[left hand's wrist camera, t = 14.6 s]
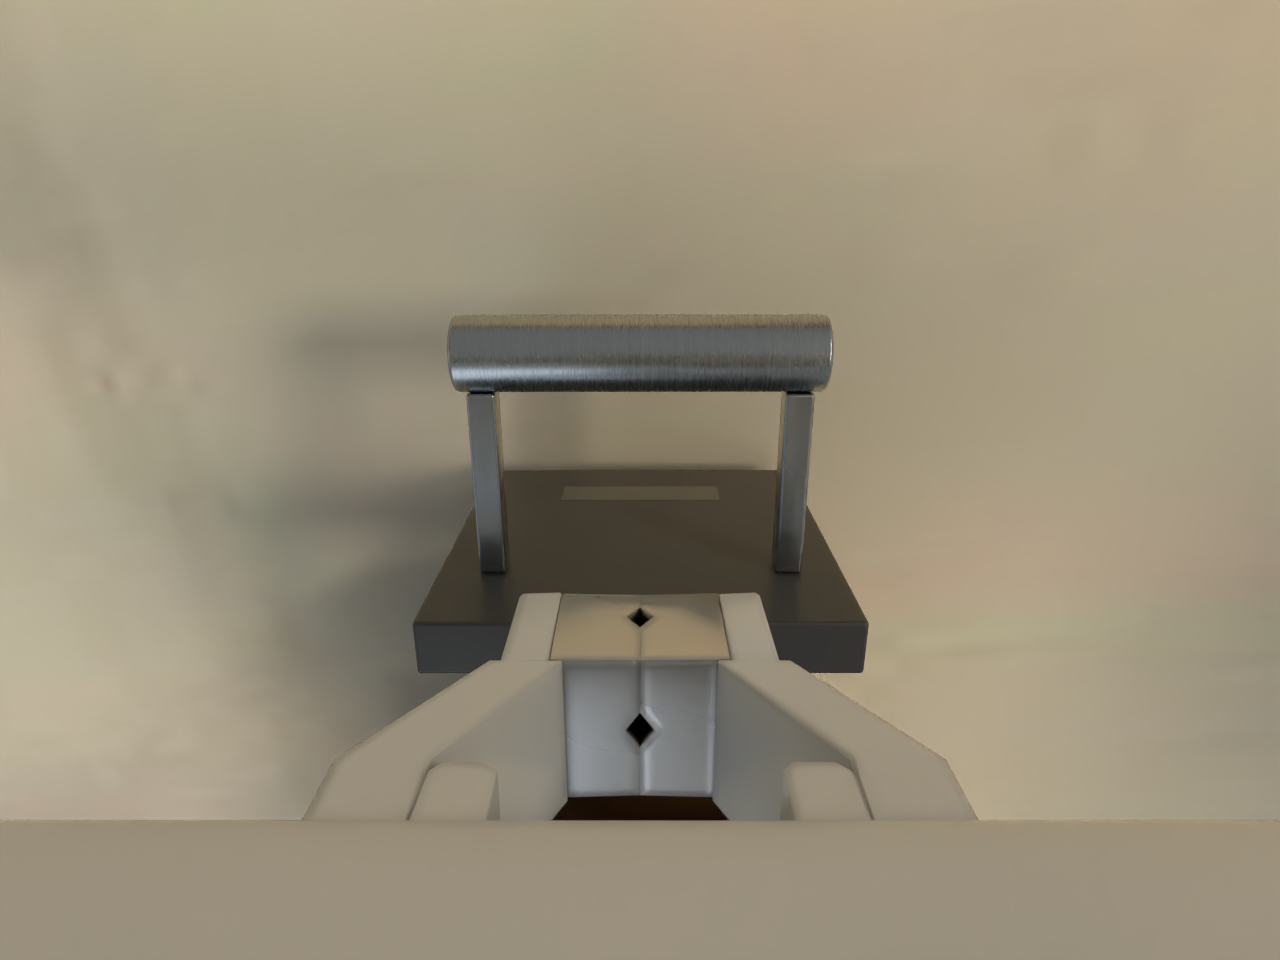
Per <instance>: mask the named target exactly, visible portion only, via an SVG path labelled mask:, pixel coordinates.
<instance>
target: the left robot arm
mask: <svg viewBox="0 0 1280 960" xmlns="http://www.w3.org/2000/svg"><path fill="white" fill-rule="evenodd" d="M625 795H653V796H689V797H713V801H714V803H715V804H716V805H717V806H718V807H719V809H720V810H721V811H722V812H723V813H724V815H725V816H726V817H727V818H728V819H729V820H552V819H553V818H554V817H555V815H556V814H557V813H558V812H559V811H560V809H561V808H562V807H563V806H564V805H565V803H566V802H567V797H590V796H625ZM0 960H1280V821H979V820H978V819H977V817H976V815H975V813H974V811H973V809H972V807H971V805H970V804H969V802H968V800H967V798H966V796H965V794H964V792H963V790H962V789H961V787H960V785H959V783H958V781H957V779H956V777H955V775H954V774H953V772H952V770H951V768H950V766H949V764H948V762H947V760H945V759H944V758H942V757H941V756H939V755H938V754H936V753H935V752H933V751H931V750H930V749H928V748H927V747H925V746H924V745H922V744H920V743H919V742H917V741H916V740H914V739H913V738H911V737H909V736H908V735H906V734H905V733H903V732H902V731H900V730H899V729H897V728H895V727H894V726H892V725H891V724H889V723H888V722H886V721H884V720H883V719H881V718H880V717H878V716H877V715H875V714H873V713H872V712H870V711H869V710H867V709H866V708H864V707H862V706H861V705H859V704H858V703H856V702H855V701H853V700H852V699H850V698H848V697H847V696H845V695H844V694H842V693H841V692H839V691H837V690H836V689H834V688H833V687H831V686H830V685H828V684H826V683H825V682H823V681H822V680H820V679H819V678H817V677H816V676H814V675H812V674H811V673H809V672H808V671H806V670H805V669H803V668H801V667H800V666H798V665H797V664H795V663H794V662H792V661H790V660H779V658H778V655H777V652H776V648H775V645H774V642H773V638H772V635H771V632H770V628H769V625H768V622H767V618H766V615H765V612H764V609H763V605H762V602H761V599H760V595H758V594H757V593H755V592H754V593H733V594H718V593H705V594H663V595H617V594H563V595H562V594H561V593H527V594H522V595H521V596H520V598H519V601H518V604H517V608H516V611H515V614H514V618H513V621H512V625H511V628H510V631H509V635H508V638H507V641H506V645H505V648H504V651H503V655H502V658H501V660H490V661H488V662H486V663H485V664H483V665H482V666H480V667H479V668H477V669H475V670H474V671H472V672H471V673H469V674H468V675H466V676H464V677H463V678H461V679H460V680H458V681H457V682H455V683H453V684H452V685H450V686H449V687H447V688H446V689H444V690H442V691H441V692H439V693H438V694H436V695H435V696H433V697H431V698H430V699H428V700H427V701H425V702H423V703H422V704H420V705H419V706H417V707H416V708H414V709H412V710H411V711H409V712H408V713H406V714H405V715H403V716H401V717H400V718H398V719H397V720H395V721H394V722H392V723H390V724H389V725H387V726H386V727H384V728H383V729H381V730H379V731H378V732H376V733H375V734H373V735H372V736H370V737H368V738H367V739H365V740H364V741H362V742H361V743H359V744H357V745H356V746H354V747H353V748H351V749H350V750H348V751H346V752H345V753H343V754H342V755H340V756H339V757H337V758H335V760H334V761H333V763H332V765H331V767H330V769H329V771H328V772H327V774H326V776H325V778H324V780H323V782H322V784H321V785H320V787H319V789H318V791H317V793H316V795H315V796H314V798H313V800H312V802H311V804H310V806H309V808H308V809H307V811H306V813H305V815H304V817H303V819H302V820H0Z"/></svg>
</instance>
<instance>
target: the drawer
mask: <svg viewBox="0 0 1280 960" xmlns="http://www.w3.org/2000/svg"><path fill="white" fill-rule="evenodd" d="M833 351H834V345H833V332H832V326H831V323H830V320H829V318H828V317H827V316H826V315H456V316H454V317H453V318H452V320H451V323H450V326H449V331H448V341H447V355H448V366H449V373H450V377H451V381H452V384H453V386H454V388H455V389H456V390H457V391H459V392H469V393H468V394H467V396H466V399H467V411H468V424H469V437H470V449H471V462H472V475H473V487H474V500H475V506H474V507H473V509H472V511H471V513H470V515H469V517H468V519H467V521H466V523H465V525H464V527H463V528H462V530H461V532H460V534H459V536H458V538H457V540H456V542H455V544H454V546H453V548H452V550H451V551H450V553H449V555H448V557H447V559H446V561H445V563H444V565H443V567H442V569H441V571H440V572H439V574H438V576H437V578H436V580H435V582H434V584H433V586H432V588H431V590H430V592H429V593H428V595H427V597H426V599H425V601H424V603H423V605H422V607H421V609H420V611H419V613H418V614H417V616H416V618H415V620H414V622H413V631H414V640H415V648H416V657H417V666H418V671H419V672H420V673H471V672H472V671H474V670H475V669H477V668H479V667H480V666H482V665H483V664H485V663H486V662H488V661H490V660H501V658H502V655H503V651H504V648H505V645H506V641H507V638H508V635H509V631H510V628H511V625H512V621H513V618H514V614H515V611H516V608H517V604H518V601H519V598H520V596H521V595H522V594H527V593H561V594H562V595H563V594H617V595H663V594H705V593H718V594H733V593H754V592H755V593H757V594H758V595H760V599H761V602H762V605H763V609H764V612H765V615H766V618H767V622H768V625H769V628H770V632H771V635H772V638H773V642H774V645H775V648H776V652H777V655H778V658H779V660H790V661H792V662H794V663H795V664H797V665H798V666H800V667H801V668H803V669H805V670H806V671H808V672H809V673H861V672H863V669H864V660H865V651H866V643H867V634H868V625H869V624H868V621H867V619H866V617H865V616H864V614H863V612H862V610H861V608H860V606H859V604H858V602H857V600H856V598H855V596H854V595H853V593H852V591H851V589H850V587H849V585H848V583H847V581H846V579H845V577H844V575H843V574H842V572H841V570H840V568H839V566H838V564H837V562H836V560H835V558H834V556H833V554H832V553H831V551H830V549H829V547H828V545H827V543H826V541H825V539H824V537H823V535H822V533H821V531H820V530H819V528H818V526H817V524H816V522H815V520H814V518H813V516H812V514H811V512H810V510H809V509H808V507H807V505H806V502H807V489H808V476H809V463H810V450H811V437H812V424H813V411H814V398H815V396H814V394H813V393H812V392H821V391H823V390H825V389H826V388H827V386H828V383H829V380H830V377H831V372H832V365H833ZM499 392H782V398H781V414H780V430H779V446H778V462H777V470H547V471H504V461H503V446H502V430H501V415H500V399H499ZM552 820H729V819H728V818H727V817H726V816H725V815H724V813H723V812H722V811H721V810H720V809H719V807H718V806H717V805H716V804H715V803H714V801H713V797H689V796H653V795H625V796H590V797H567V802H566V803H565V805H564V806H563V807H562V808H561V809H560V811H559V812H558V813H557V814H556V815H555V817H554V818H553V819H552Z"/></svg>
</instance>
